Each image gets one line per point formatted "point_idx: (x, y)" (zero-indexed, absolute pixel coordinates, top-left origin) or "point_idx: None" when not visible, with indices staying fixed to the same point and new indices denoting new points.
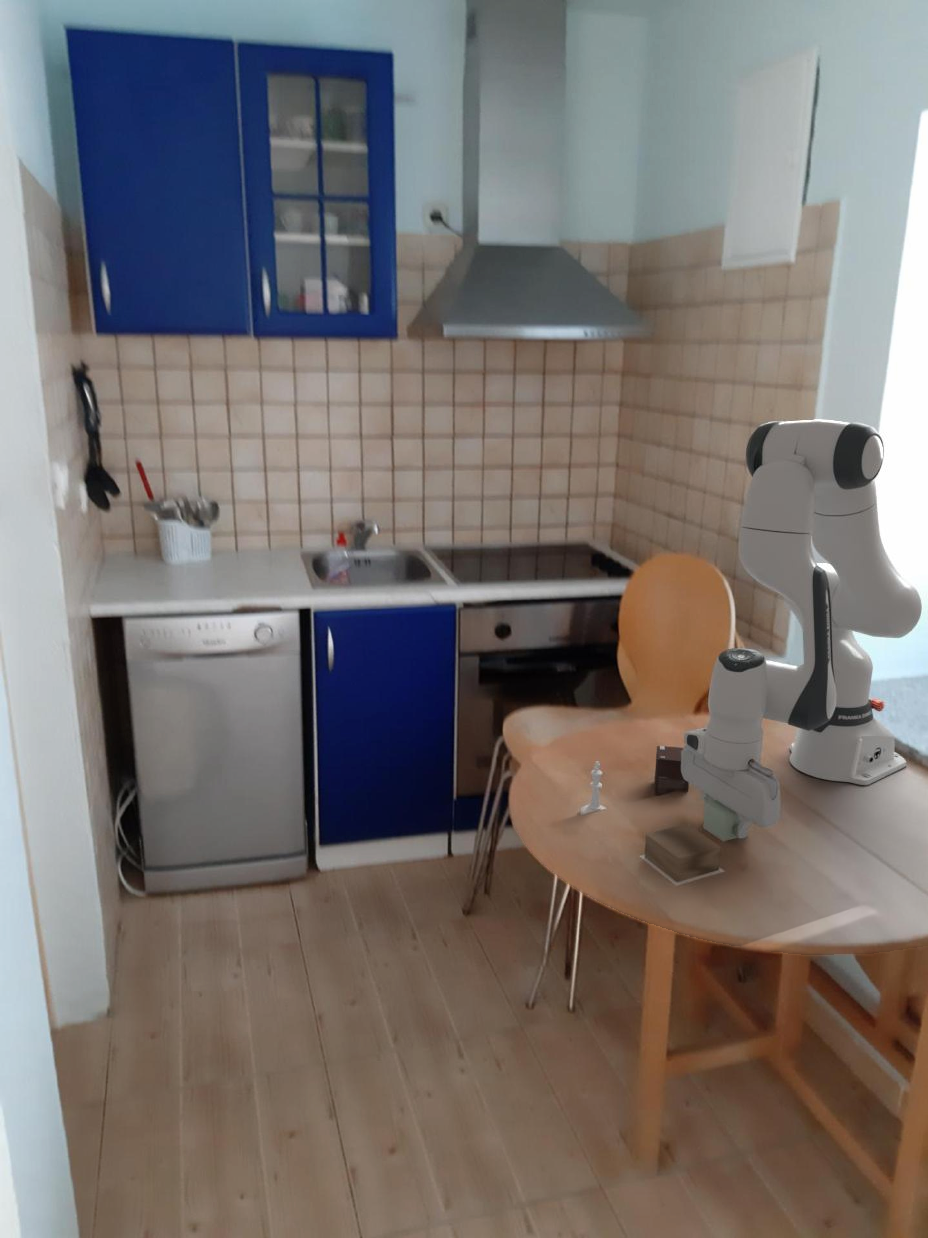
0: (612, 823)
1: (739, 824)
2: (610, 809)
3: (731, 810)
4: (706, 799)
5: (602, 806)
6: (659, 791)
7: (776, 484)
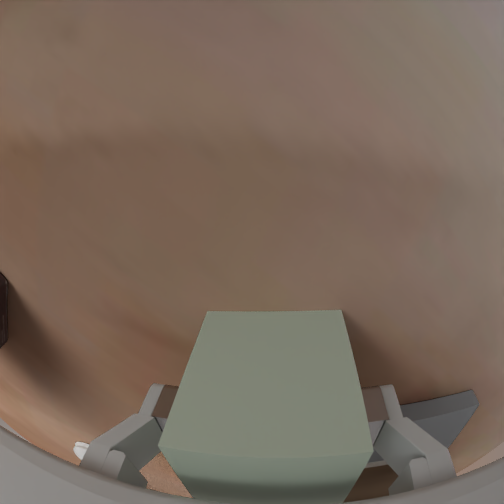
0: None
1: (389, 464)
2: (77, 434)
3: (317, 495)
4: (140, 461)
5: (82, 453)
6: (1, 341)
7: None
